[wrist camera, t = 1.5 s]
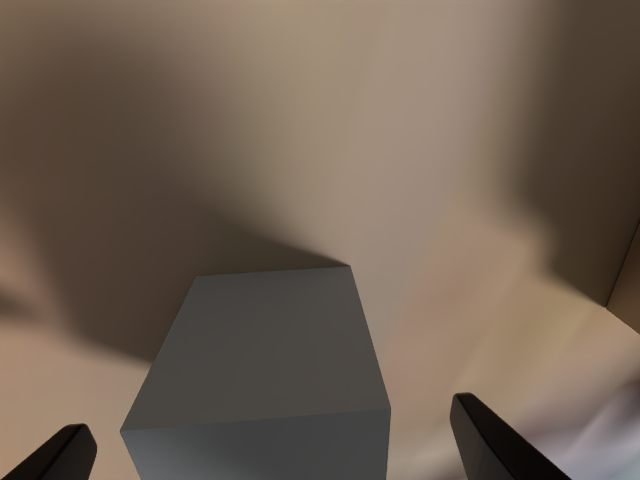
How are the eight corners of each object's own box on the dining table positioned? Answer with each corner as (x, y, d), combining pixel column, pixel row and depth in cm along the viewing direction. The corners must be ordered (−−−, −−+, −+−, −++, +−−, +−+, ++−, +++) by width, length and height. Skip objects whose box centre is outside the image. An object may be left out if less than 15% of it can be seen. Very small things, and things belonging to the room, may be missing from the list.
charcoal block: (350, 375, 12) (381, 545, 8) (221, 385, 12) (179, 566, 8) (350, 264, 10) (391, 408, 6) (196, 275, 10) (119, 431, 6)
